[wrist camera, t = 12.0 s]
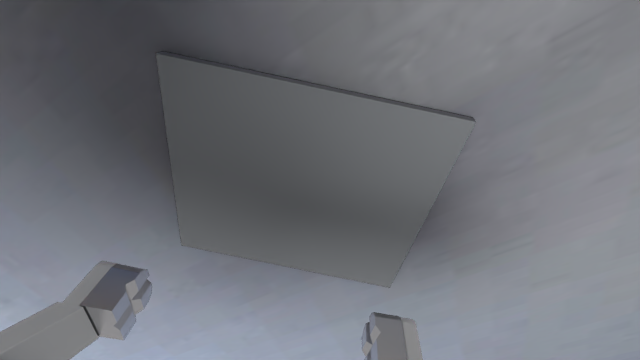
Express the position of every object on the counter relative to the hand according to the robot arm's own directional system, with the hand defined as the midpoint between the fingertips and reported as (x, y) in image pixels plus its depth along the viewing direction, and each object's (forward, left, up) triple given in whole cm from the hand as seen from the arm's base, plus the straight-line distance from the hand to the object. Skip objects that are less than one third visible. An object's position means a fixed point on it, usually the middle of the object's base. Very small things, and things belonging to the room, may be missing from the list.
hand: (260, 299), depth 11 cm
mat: (0, 0, -7) cm, 7 cm away
